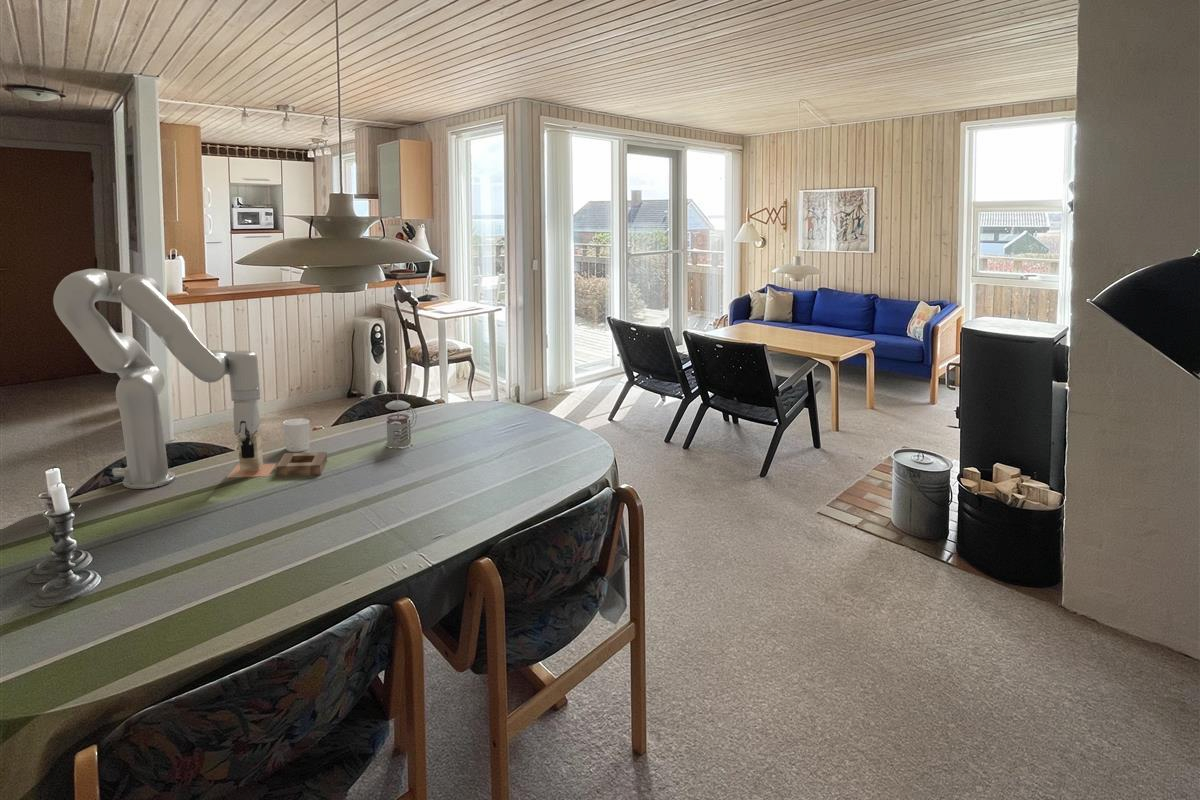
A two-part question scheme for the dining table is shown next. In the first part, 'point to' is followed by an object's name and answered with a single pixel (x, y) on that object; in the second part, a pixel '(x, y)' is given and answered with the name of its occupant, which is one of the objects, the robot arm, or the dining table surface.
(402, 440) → the french press
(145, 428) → the robot arm
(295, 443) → the white cup
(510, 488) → the dining table surface
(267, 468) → the terracotta tile
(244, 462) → the birch peg
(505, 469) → the dining table surface
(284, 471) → the walnut holder
